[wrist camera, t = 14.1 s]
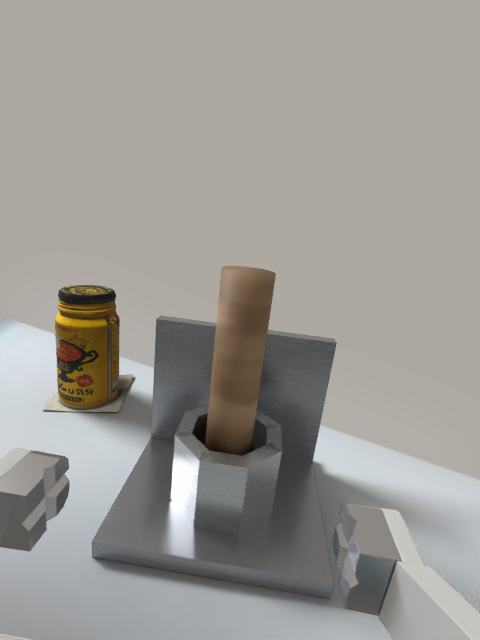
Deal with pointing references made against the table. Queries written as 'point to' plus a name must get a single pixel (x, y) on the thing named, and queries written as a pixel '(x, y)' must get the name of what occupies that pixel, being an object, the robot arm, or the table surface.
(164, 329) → the cup bracket
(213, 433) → the wooden cylinder rod
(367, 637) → the table surface
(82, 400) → the condiment
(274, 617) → the table surface
